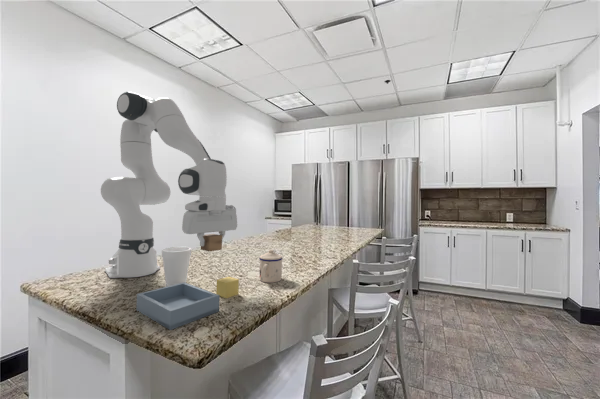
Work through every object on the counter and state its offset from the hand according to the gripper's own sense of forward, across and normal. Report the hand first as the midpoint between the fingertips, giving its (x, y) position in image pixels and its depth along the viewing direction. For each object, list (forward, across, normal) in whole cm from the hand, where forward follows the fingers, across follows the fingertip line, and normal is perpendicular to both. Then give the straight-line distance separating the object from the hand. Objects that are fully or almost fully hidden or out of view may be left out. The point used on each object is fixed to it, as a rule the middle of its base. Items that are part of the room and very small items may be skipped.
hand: (211, 244), depth 94 cm
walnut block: (+2, 0, 0) cm, 2 cm away
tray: (+15, +17, +9) cm, 25 cm away
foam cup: (+16, +6, -12) cm, 20 cm away
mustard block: (+15, 0, +9) cm, 18 cm away
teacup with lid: (+15, -20, +9) cm, 27 cm away
